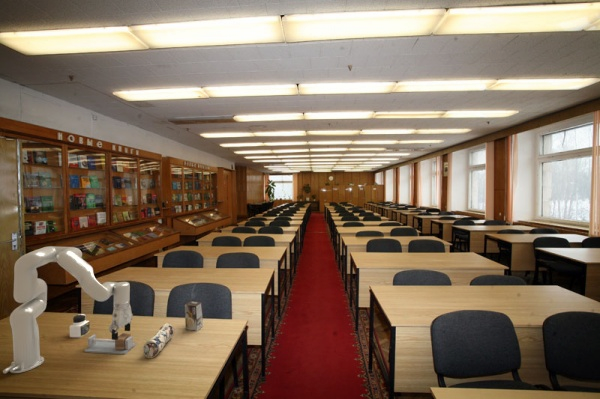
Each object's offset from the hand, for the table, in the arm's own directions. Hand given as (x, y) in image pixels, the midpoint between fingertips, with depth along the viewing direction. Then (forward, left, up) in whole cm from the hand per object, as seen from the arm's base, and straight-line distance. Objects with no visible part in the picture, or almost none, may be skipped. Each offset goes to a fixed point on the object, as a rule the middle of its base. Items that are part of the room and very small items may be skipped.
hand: (121, 335), depth 158 cm
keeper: (0, -1, -7) cm, 7 cm away
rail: (0, +7, -8) cm, 11 cm away
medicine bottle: (+13, +38, -9) cm, 41 cm away
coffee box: (+27, -29, -9) cm, 41 cm away
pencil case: (+4, -20, -9) cm, 22 cm away
